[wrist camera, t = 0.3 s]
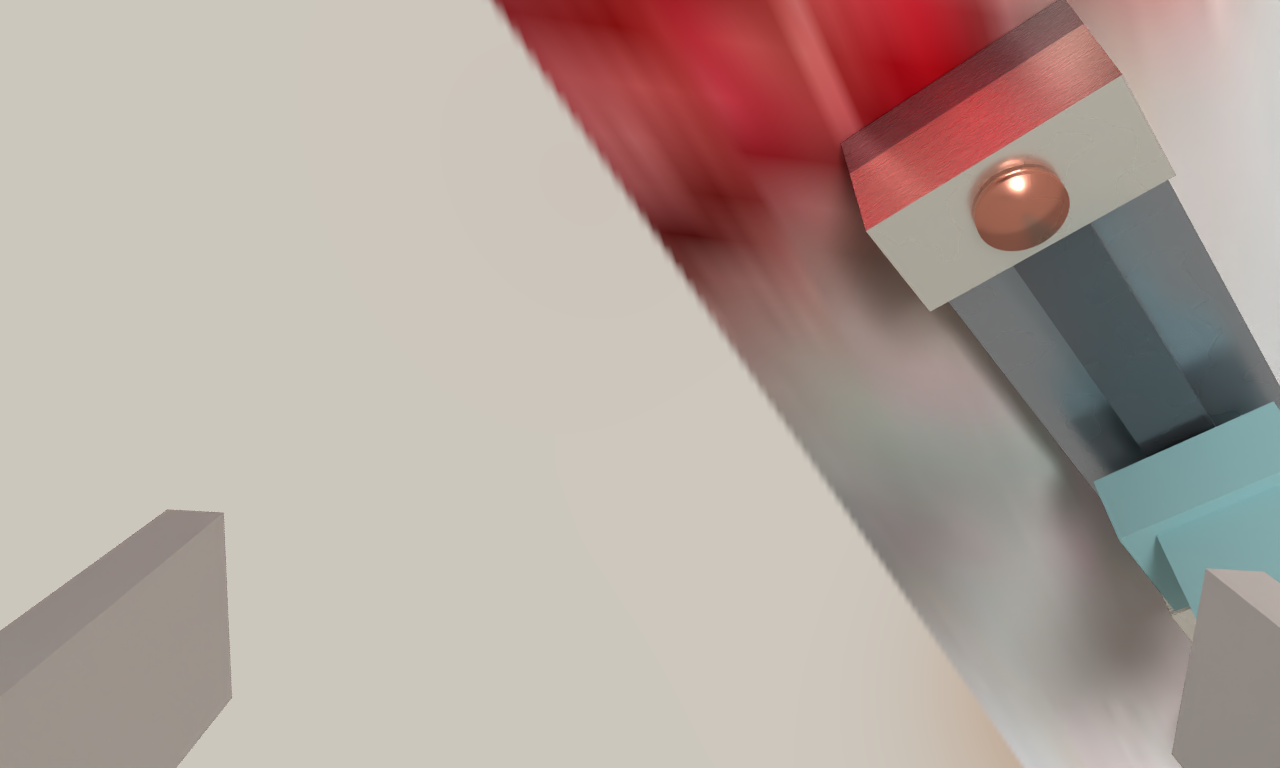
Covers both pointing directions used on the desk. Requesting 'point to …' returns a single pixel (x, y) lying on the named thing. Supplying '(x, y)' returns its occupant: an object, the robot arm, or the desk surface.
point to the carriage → (1202, 506)
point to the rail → (1061, 247)
